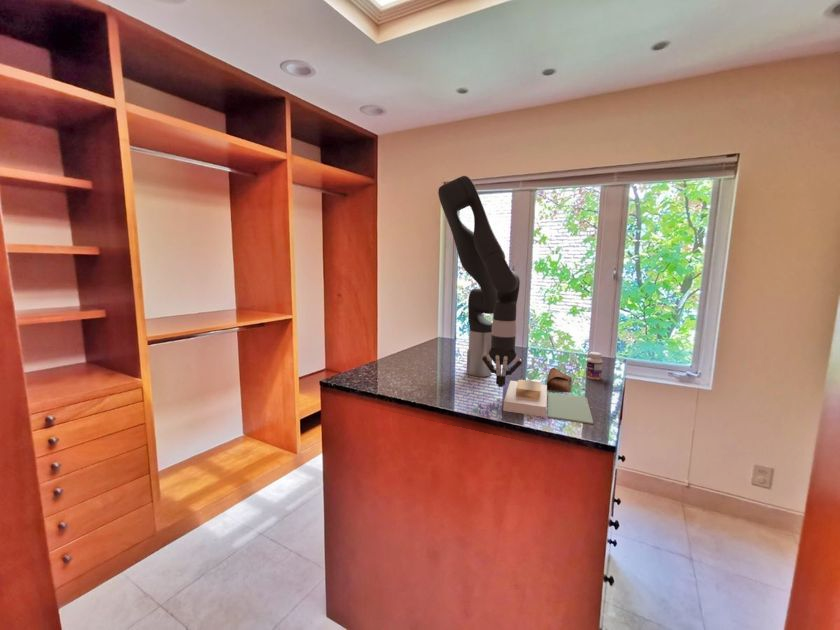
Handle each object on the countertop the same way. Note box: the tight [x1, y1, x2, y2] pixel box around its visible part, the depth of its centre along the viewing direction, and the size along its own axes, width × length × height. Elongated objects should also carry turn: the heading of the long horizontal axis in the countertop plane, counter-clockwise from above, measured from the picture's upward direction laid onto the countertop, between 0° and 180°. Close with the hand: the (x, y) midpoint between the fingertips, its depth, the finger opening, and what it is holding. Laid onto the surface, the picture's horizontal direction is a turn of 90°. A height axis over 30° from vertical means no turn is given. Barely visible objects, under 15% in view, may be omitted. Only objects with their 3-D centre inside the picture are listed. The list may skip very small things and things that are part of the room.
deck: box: [502, 380, 548, 418], centre depth 118 cm, size 12×20×3 cm, turn 161°
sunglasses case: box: [545, 367, 572, 393], centre depth 136 cm, size 18×7×7 cm, turn 158°
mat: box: [547, 392, 594, 425], centre depth 114 cm, size 12×20×1 cm, turn 161°
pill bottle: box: [585, 351, 604, 380], centre depth 142 cm, size 5×5×10 cm
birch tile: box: [516, 379, 542, 399], centre depth 117 cm, size 7×9×2 cm
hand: (500, 386), depth 120 cm, fingers closed
